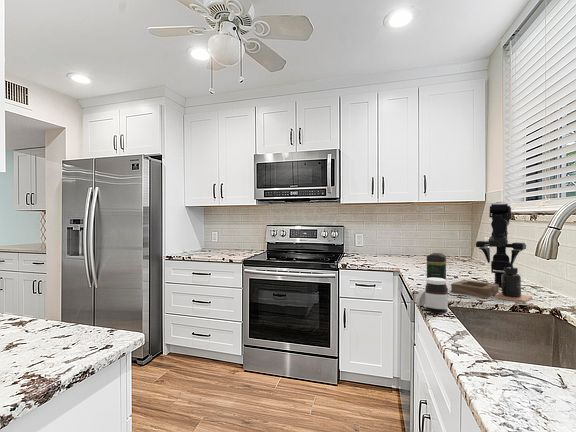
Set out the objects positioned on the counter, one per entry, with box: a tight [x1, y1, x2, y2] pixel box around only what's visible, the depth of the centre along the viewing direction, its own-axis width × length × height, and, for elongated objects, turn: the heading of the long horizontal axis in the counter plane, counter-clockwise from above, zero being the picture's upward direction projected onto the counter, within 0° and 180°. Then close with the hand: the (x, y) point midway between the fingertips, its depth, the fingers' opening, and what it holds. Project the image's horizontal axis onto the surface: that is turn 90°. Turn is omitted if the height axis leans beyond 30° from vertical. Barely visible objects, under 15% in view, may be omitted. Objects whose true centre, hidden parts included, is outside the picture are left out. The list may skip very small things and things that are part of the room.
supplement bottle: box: [501, 266, 522, 297], centre depth 137 cm, size 7×7×12 cm
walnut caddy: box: [450, 279, 500, 298], centre depth 148 cm, size 15×15×4 cm
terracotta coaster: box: [493, 291, 533, 303], centre depth 137 cm, size 11×11×1 cm
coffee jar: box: [426, 252, 447, 280], centre depth 145 cm, size 10×8×19 cm
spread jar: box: [415, 277, 449, 314], centre depth 122 cm, size 12×11×12 cm
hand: (500, 263), depth 147 cm, fingers open, 9 cm apart
